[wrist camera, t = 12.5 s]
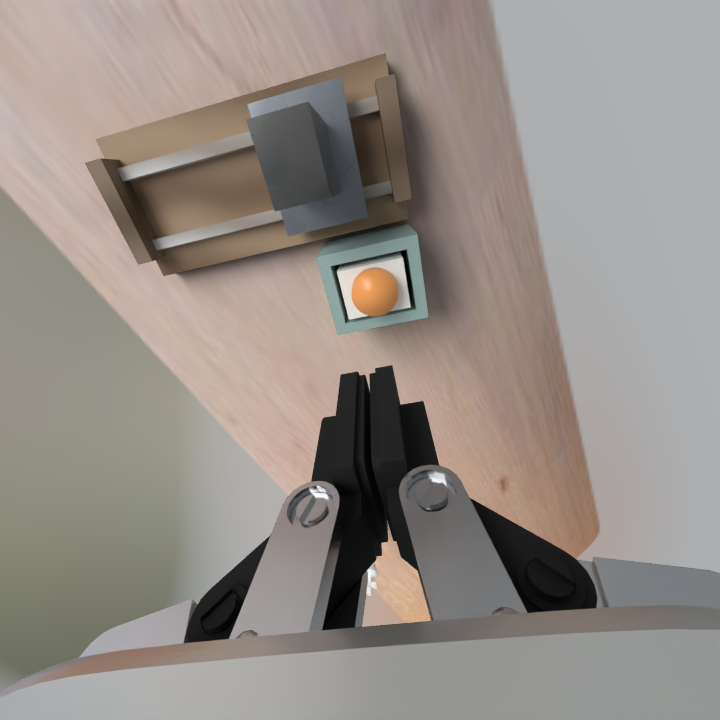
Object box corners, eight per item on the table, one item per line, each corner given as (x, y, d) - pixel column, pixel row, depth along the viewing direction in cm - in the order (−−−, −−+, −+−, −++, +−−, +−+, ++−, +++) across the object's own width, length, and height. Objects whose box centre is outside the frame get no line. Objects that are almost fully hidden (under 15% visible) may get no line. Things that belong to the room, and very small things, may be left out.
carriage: (253, 107, 22) (197, 74, 15) (342, 81, 21) (328, 33, 14) (291, 234, 26) (261, 256, 19) (368, 215, 25) (368, 231, 18)
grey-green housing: (325, 242, 29) (316, 257, 23) (408, 223, 28) (417, 234, 22) (343, 310, 31) (338, 337, 26) (418, 294, 31) (428, 319, 25)
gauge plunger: (341, 256, 28) (335, 275, 22) (397, 244, 27) (404, 260, 22) (351, 298, 29) (348, 324, 24) (404, 287, 29) (412, 312, 24)
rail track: (107, 141, 25) (71, 137, 22) (387, 59, 23) (390, 41, 20) (170, 272, 30) (148, 283, 27) (409, 216, 27) (414, 221, 24)
